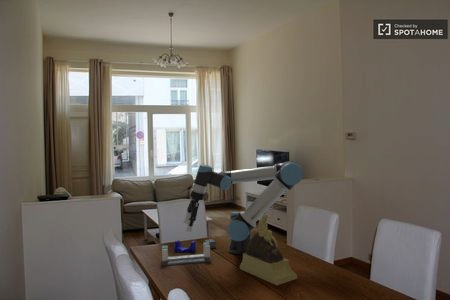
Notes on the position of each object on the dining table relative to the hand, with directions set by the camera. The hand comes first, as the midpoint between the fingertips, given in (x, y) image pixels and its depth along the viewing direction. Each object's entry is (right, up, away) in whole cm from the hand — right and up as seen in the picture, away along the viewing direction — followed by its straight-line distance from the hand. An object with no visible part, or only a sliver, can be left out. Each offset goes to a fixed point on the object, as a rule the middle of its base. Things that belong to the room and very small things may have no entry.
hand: (187, 227), depth 218 cm
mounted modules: (0, -16, -3) cm, 16 cm away
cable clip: (-3, -18, +14) cm, 22 cm away
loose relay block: (+12, -16, +21) cm, 29 cm away
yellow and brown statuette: (+42, -17, -28) cm, 54 cm away
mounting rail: (0, -18, -3) cm, 18 cm away
